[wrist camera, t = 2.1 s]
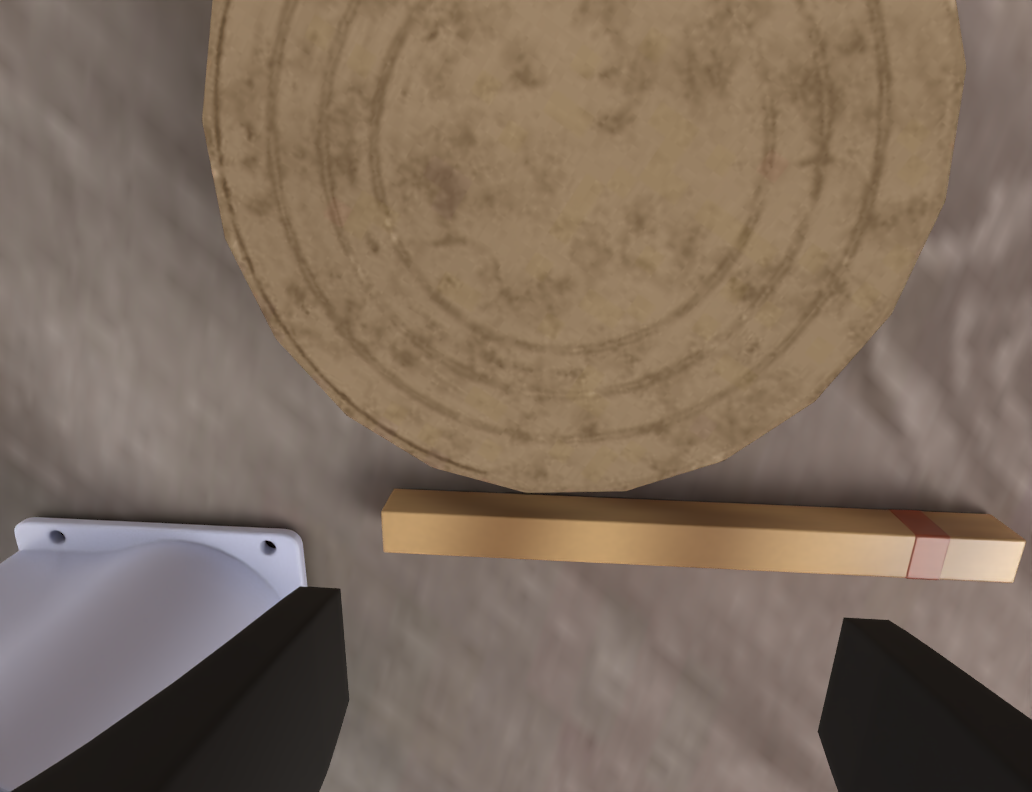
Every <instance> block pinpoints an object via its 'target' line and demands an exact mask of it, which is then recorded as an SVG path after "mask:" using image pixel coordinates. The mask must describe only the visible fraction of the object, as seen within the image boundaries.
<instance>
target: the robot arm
mask: <svg viewBox="0 0 1032 792" xmlns="http://www.w3.org/2000/svg"><path fill="white" fill-rule="evenodd" d="M14 530H15V537H16V541H17V545H18V548H19V551H18V552H17V553H15V554H14V555H12V556H11V557H9V558H8V559H6V560H5V561H3V562H2V563H0V792H319V791H320V788H321V786H322V784H323V781H324V779H325V776H326V774H327V771H328V768H329V765H330V762H331V759H332V755H333V752H334V749H335V746H336V743H337V740H338V736H339V733H340V730H341V726H342V723H343V719H344V716H345V713H346V709H347V706H348V702H349V691H348V679H347V666H346V654H345V641H344V629H343V617H342V604H341V592H340V589H337V588H320V587H308V586H307V577H306V568H305V559H304V549H303V542H302V539H301V537H300V536H299V535H298V534H297V533H296V532H294V531H293V530H289V529H278V528H257V527H235V526H214V525H193V524H172V523H150V522H129V521H108V520H87V519H66V518H44V517H30V518H27V519H25V520H23V521H22V522H20V523H19V524H17V525H16V527H15V529H14ZM60 532H61V533H63V534H64V536H65V537H64V536H63V535H61V533H60ZM266 540H268V541H271V542H272V543H273V544H274V545H275V547H276V548H272V547H269V546H268V545H267V544H266ZM818 733H819V736H820V739H821V742H822V745H823V748H824V751H825V754H826V757H827V760H828V763H829V766H830V769H831V772H832V775H833V778H834V781H835V784H836V786H837V789H838V792H1032V720H1031V719H1030V718H1028V717H1027V716H1026V715H1024V714H1023V713H1021V712H1020V711H1019V710H1017V709H1016V708H1014V707H1013V706H1012V705H1010V704H1009V703H1007V702H1006V701H1005V700H1003V699H1002V698H1000V697H999V696H998V695H996V694H995V693H993V692H992V691H991V690H989V689H988V688H986V687H985V686H984V685H982V684H981V683H979V682H978V681H977V680H975V679H974V678H972V677H971V676H970V675H968V674H967V673H965V672H964V671H963V670H961V669H960V668H958V667H957V666H956V665H954V664H953V663H951V662H950V661H949V660H947V659H946V658H944V657H943V656H941V655H940V654H939V653H937V652H936V651H934V650H933V649H931V648H930V647H929V646H927V645H926V644H924V643H923V642H921V641H920V640H918V639H917V638H916V637H914V636H913V635H911V634H910V633H908V632H907V631H905V630H903V629H902V628H900V627H899V626H897V625H896V624H894V623H892V622H891V621H889V620H876V619H859V618H844V619H843V624H842V628H841V632H840V637H839V641H838V646H837V650H836V654H835V659H834V663H833V667H832V672H831V676H830V681H829V685H828V689H827V694H826V698H825V702H824V707H823V711H822V715H821V720H820V724H819V729H818Z"/></svg>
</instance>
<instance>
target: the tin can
mask: <svg viewBox="0 0 1032 792" xmlns="http://www.w3.org/2000/svg"><path fill="white" fill-rule="evenodd" d="M965 73H966V63H965V57H964V50H963V43H962V37H961V30H960V24H959V17H958V10H957V4H956V0H213V2H212V13H211V24H210V36H209V47H208V58H207V69H206V81H205V92H204V103H203V115H202V123H203V128H204V133H205V138H206V143H207V148H208V153H209V159H210V164H211V169H212V174H213V179H214V184H215V189H216V194H217V200H218V205H219V210H220V215H221V220H222V225H223V230H224V236H225V239H226V241H227V243H228V245H229V247H230V249H231V251H232V253H233V255H234V257H235V259H236V261H237V263H238V265H239V267H240V269H241V271H242V273H243V275H244V277H245V279H246V281H247V283H248V285H249V287H250V289H251V291H252V293H253V295H254V297H255V299H256V301H257V303H258V305H259V307H260V308H261V310H262V312H263V314H264V316H265V318H266V320H267V322H268V324H269V326H270V328H271V330H272V332H273V334H274V336H275V338H276V339H277V340H278V342H279V343H280V344H281V345H282V346H283V347H284V348H285V349H286V350H287V351H288V352H289V353H290V355H291V356H292V357H293V358H294V359H295V360H296V361H297V362H298V363H299V364H300V365H301V366H302V368H303V369H304V370H305V371H306V372H307V373H308V374H309V375H310V376H311V377H312V378H313V379H314V381H315V382H316V383H317V384H318V385H319V386H320V387H321V388H322V389H323V390H324V391H325V392H326V394H327V395H328V396H329V397H330V398H331V399H332V400H333V401H334V402H335V403H336V404H337V405H338V407H339V408H340V409H341V410H342V411H343V412H344V413H345V414H346V415H347V416H348V417H350V418H352V419H353V420H355V421H357V422H358V423H360V424H362V425H363V426H365V427H367V428H368V429H370V430H371V431H373V432H375V433H376V434H378V435H380V436H381V437H383V438H385V439H386V440H388V441H390V442H391V443H393V444H395V445H396V446H398V447H399V448H401V449H403V450H404V451H406V452H408V453H409V454H411V455H413V456H414V457H416V458H418V459H419V460H421V461H422V462H424V463H426V464H427V465H429V466H431V467H433V468H436V469H440V470H444V471H447V472H451V473H455V474H458V475H462V476H466V477H470V478H473V479H477V480H481V481H484V482H488V483H492V484H495V485H499V486H503V487H507V488H510V489H514V490H518V491H521V492H525V493H551V492H604V491H628V490H631V489H634V488H637V487H641V486H644V485H647V484H650V483H653V482H657V481H660V480H663V479H666V478H670V477H673V476H676V475H679V474H683V473H686V472H689V471H692V470H696V469H699V468H702V467H705V466H709V465H712V464H715V463H718V462H722V461H724V460H726V459H727V458H729V457H730V456H732V455H733V454H735V453H736V452H738V451H740V450H741V449H743V448H744V447H746V446H747V445H749V444H750V443H752V442H753V441H755V440H756V439H758V438H760V437H761V436H763V435H764V434H766V433H767V432H769V431H770V430H772V429H773V428H775V427H776V426H778V425H780V424H781V423H783V422H784V421H786V420H787V419H789V418H790V417H792V416H793V415H795V414H796V413H798V412H800V411H801V410H803V409H804V408H806V407H807V406H809V405H810V404H812V403H813V402H815V401H816V400H817V398H818V397H819V396H820V395H821V394H822V393H823V392H824V390H825V389H826V388H827V387H828V386H829V385H830V384H831V382H832V381H833V380H834V379H835V378H836V377H837V376H838V374H839V373H840V372H841V371H842V370H843V369H844V368H845V366H846V365H847V364H848V363H849V362H850V361H851V360H852V359H853V357H854V356H855V355H856V354H857V353H858V352H859V351H860V349H861V348H862V347H863V346H864V345H865V344H866V343H867V341H868V340H869V339H870V338H871V337H872V336H873V335H874V333H875V332H876V331H877V330H878V329H879V328H880V327H881V325H882V324H883V323H884V322H885V321H886V320H887V319H888V317H889V316H890V315H891V314H892V312H893V310H894V308H895V306H896V303H897V301H898V299H899V297H900V295H901V293H902V291H903V289H904V287H905V285H906V282H907V280H908V278H909V276H910V274H911V272H912V270H913V268H914V266H915V263H916V261H917V259H918V257H919V255H920V253H921V251H922V249H923V247H924V244H925V242H926V240H927V238H928V236H929V234H930V232H931V230H932V228H933V226H934V223H935V221H936V219H937V217H938V215H939V213H940V211H941V209H942V207H943V204H944V202H945V200H946V193H947V187H948V181H949V174H950V168H951V162H952V155H953V149H954V142H955V136H956V130H957V123H958V117H959V111H960V104H961V98H962V92H963V85H964V79H965Z"/></svg>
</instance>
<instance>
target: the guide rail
mask: <svg viewBox="0 0 1032 792" xmlns="http://www.w3.org/2000/svg"><path fill="white" fill-rule="evenodd" d="M381 518H382V535H383V550H384V552H389V553H410V554H430V555H451V556H471V557H492V558H512V559H533V560H553V561H574V562H594V563H615V564H635V565H656V566H676V567H696V568H717V569H737V570H758V571H778V572H799V573H819V574H840V575H860V576H881V577H901V578H907V579H926V580H939V579H942V580H963V581H983V582H1004V583H1013V582H1014V579H1015V575H1016V572H1017V569H1018V566H1019V563H1020V560H1021V557H1022V553H1023V550H1024V547H1025V544H1026V540H1025V539H1024V538H1022V537H1021V536H1020V535H1018V534H1017V533H1015V532H1014V531H1013V530H1011V529H1010V528H1009V527H1007V526H1006V525H1004V524H1003V523H1002V522H1000V521H999V520H998V519H996V518H995V517H994V516H992V515H990V514H973V513H950V512H927V511H919V510H897V509H889V510H880V509H857V508H833V507H810V506H787V505H764V504H740V503H717V502H694V501H670V500H647V499H624V498H600V497H577V496H554V495H530V494H507V493H484V492H460V491H437V490H414V489H394V490H393V491H392V493H391V495H390V497H389V499H388V500H387V502H386V504H385V506H384V508H383V509H382V511H381Z"/></svg>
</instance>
